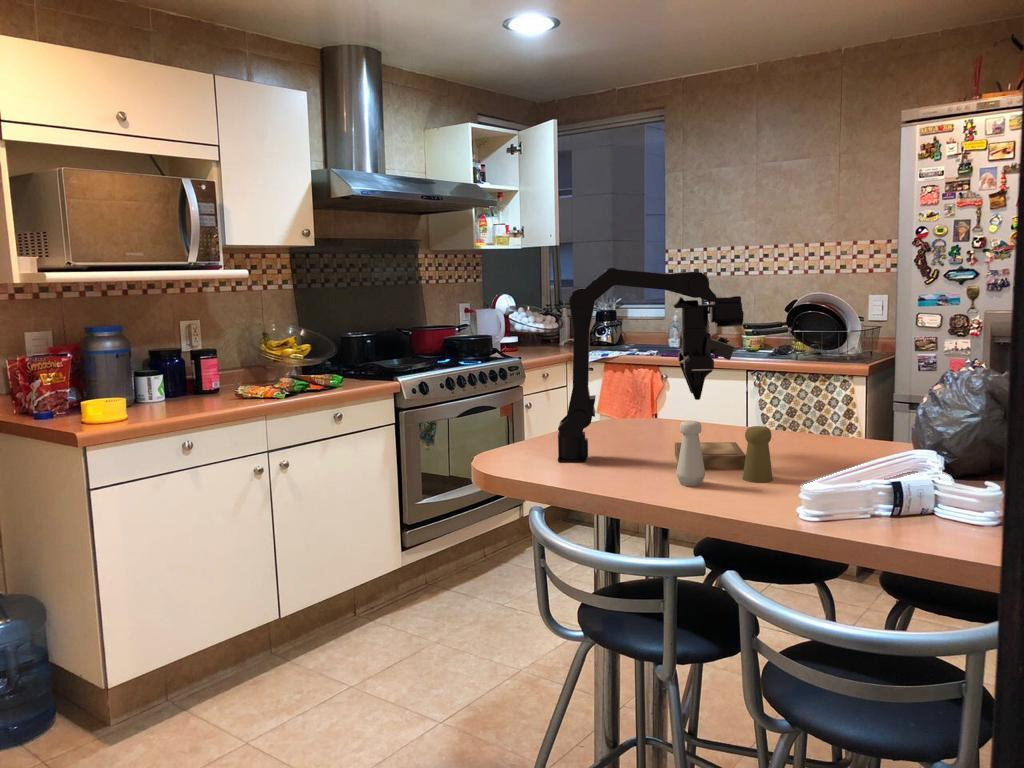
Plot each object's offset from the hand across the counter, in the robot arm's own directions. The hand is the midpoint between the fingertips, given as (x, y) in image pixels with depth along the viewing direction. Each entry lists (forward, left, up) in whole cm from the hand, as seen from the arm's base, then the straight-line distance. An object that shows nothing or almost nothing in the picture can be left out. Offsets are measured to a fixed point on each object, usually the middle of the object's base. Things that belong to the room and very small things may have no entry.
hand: (695, 396), depth 185 cm
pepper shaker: (+11, -18, -15) cm, 26 cm away
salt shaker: (-3, -22, -15) cm, 27 cm away
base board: (+3, -3, -15) cm, 15 cm away
